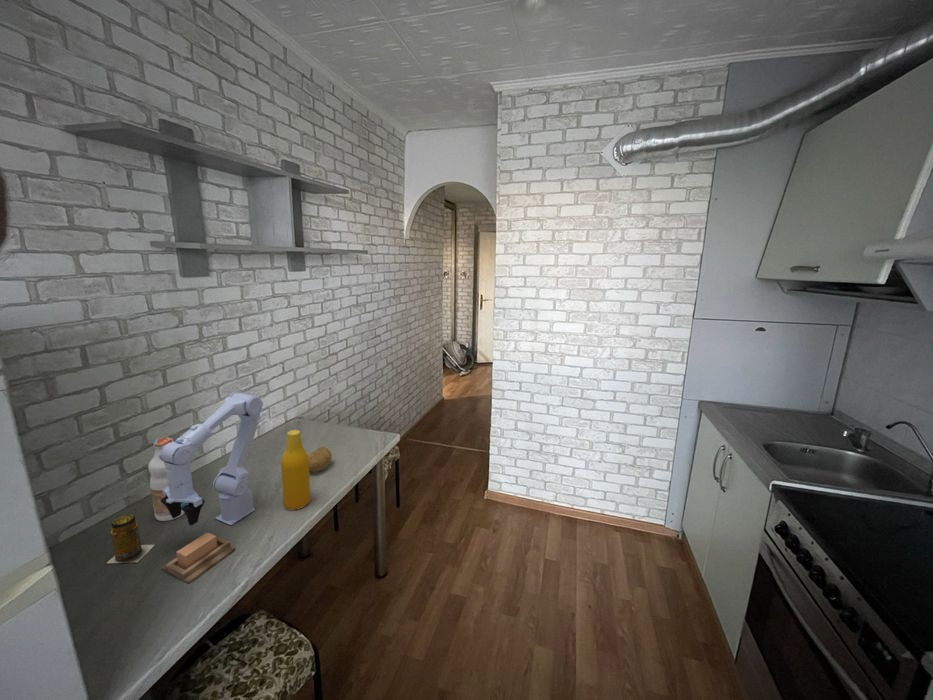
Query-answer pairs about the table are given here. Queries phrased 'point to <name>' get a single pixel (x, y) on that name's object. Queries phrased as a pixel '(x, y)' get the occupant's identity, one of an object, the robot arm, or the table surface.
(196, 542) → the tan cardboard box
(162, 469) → the fruit juice
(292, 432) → the yellow bottle
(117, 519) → the condiment
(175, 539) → the table surface
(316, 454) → the potato
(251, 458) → the table surface
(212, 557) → the cradle jig
